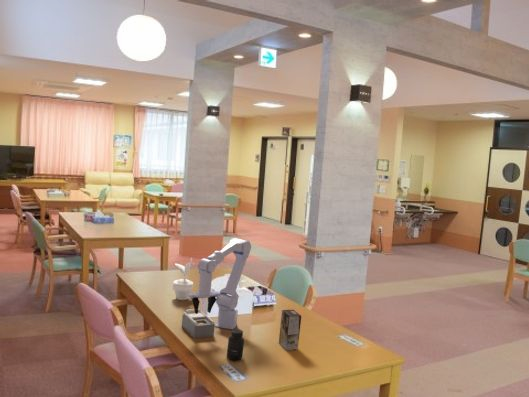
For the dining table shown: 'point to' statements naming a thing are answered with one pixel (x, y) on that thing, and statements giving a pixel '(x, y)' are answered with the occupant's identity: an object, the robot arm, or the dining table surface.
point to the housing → (198, 326)
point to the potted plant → (183, 283)
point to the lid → (194, 314)
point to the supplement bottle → (235, 345)
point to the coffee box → (289, 329)
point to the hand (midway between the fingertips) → (202, 312)
